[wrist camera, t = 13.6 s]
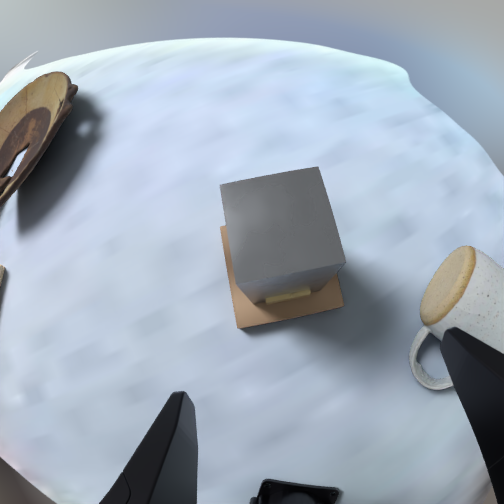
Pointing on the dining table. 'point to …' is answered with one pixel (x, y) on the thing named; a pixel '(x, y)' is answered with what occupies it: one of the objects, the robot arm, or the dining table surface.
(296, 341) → the dining table surface
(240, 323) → the post base
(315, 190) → the grey cardboard box
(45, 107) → the oil lamp
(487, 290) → the ceramic mug
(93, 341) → the dining table surface
